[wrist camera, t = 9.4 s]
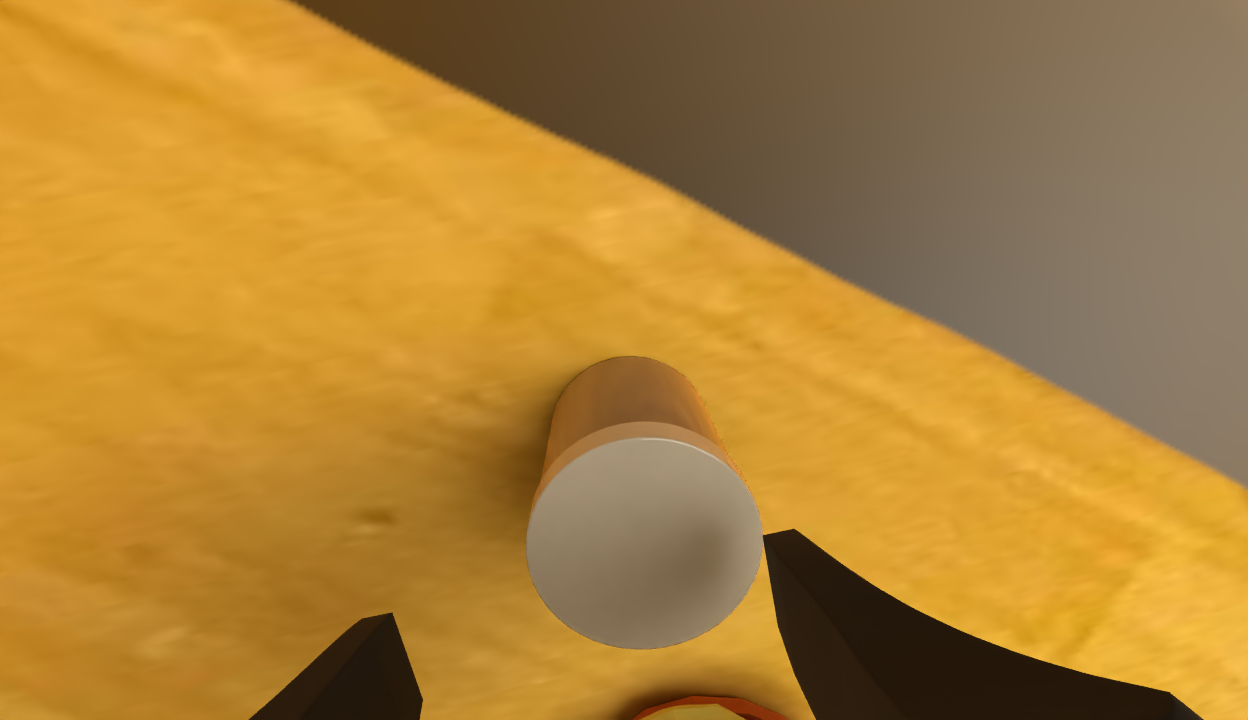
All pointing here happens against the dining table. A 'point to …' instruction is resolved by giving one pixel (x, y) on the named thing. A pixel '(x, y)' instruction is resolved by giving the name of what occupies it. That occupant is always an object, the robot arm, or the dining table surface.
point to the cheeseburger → (708, 710)
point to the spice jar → (640, 511)
